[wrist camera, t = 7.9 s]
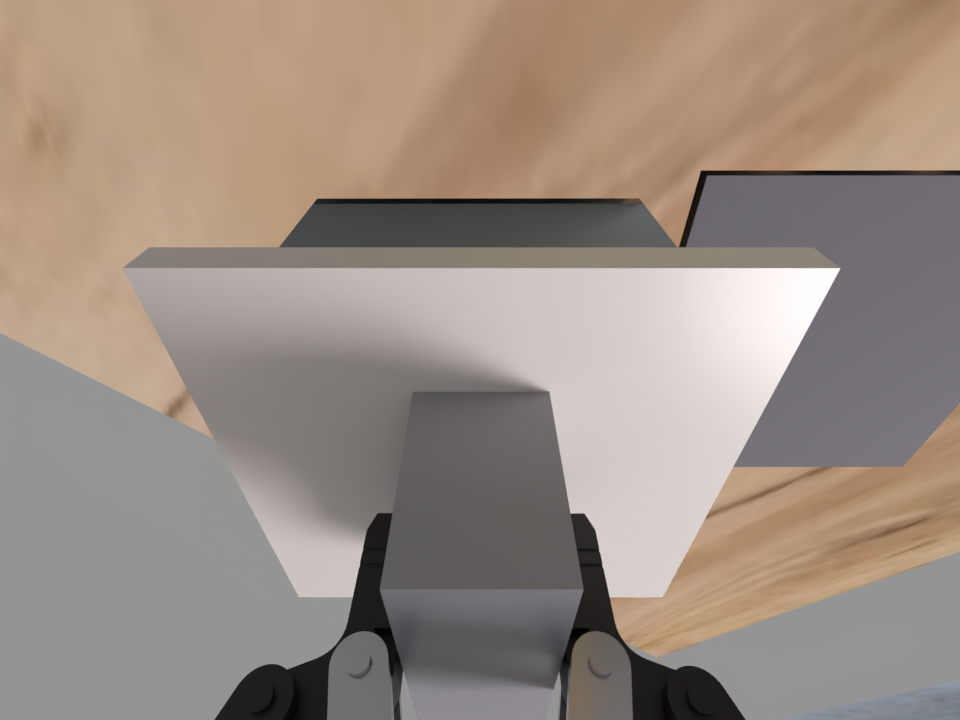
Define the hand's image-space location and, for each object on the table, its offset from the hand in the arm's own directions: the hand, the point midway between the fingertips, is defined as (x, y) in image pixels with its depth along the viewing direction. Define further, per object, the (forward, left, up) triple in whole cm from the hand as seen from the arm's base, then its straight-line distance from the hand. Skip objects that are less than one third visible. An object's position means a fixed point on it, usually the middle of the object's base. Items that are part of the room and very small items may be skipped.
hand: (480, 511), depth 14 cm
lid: (0, 0, -2) cm, 2 cm away
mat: (-16, +1, -9) cm, 18 cm away
